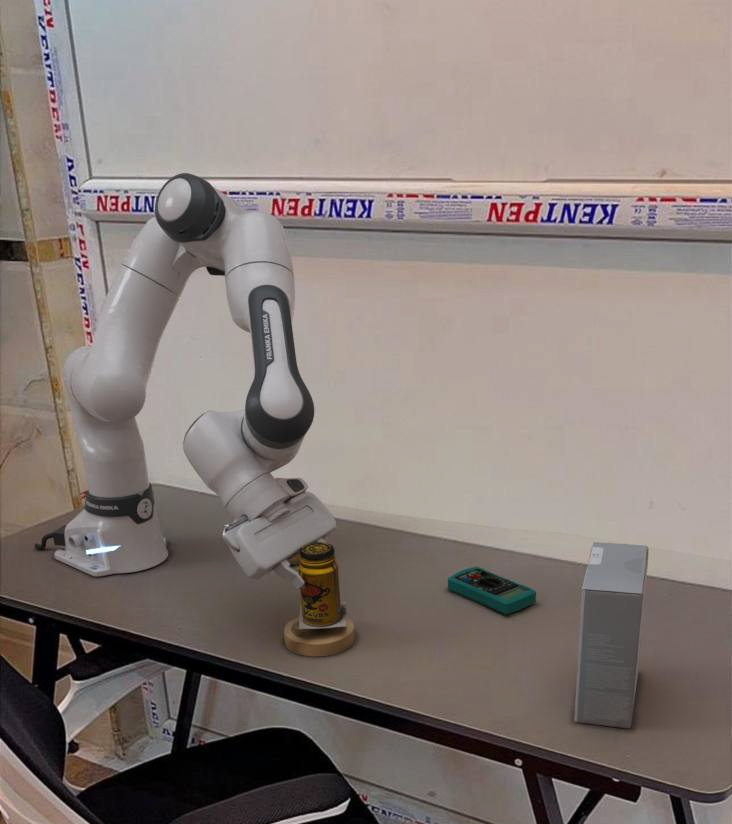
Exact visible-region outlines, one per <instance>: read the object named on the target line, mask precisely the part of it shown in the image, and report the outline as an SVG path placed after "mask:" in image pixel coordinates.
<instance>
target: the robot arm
mask: <svg viewBox="0 0 732 824" xmlns="http://www.w3.org/2000/svg"><path fill="white" fill-rule="evenodd" d="M293 265H294V264H293V259H292V255H291V249H290V245H289V242H288V238H287V235H286V232H285V228H284V226H283V224H282V223H281V222H280V220H279V219H278V218H277V217H276V216H274V215H272V214H271V213H268V212H265V211H261V210H260V211H259V210H253V211H247V210H246V209H245V208H244V207H243V206H242V205H241V204H239V203H238V201H236V200H235V199H233V198H232V197H230V196H228V195H226V193H224V192H222V191H221V190H219V189H218V188H216V187H214V186H213V185H212V184H211V183H210V182H209V181H208V180H206V179H204V178H202V177H200V176H198V175H195V174H192V173H189V172H182V173H178V174H175V175H174V176H172V177H171V178H169V179H167V181H166V182H165V183H164V184H163V185H162V187H161V188H160V189H159V192H158V194H157V196H156V199H155V203H154V216H153V217H151V218H150V219H148V220H147V221H146V223H145V224H144V225H143V227H142V228H141V229H140V230H139V232H138V234H137V235H136V237H135V238H134V239H133V241H132V243H131V244H130V246H129V248H128V249H127V251H126V253H125V255H124V258H123V259H122V261H121V262H120V265H119V268H118V270H117V272H116V274H115V276H114V278H113V281H112V282H111V285H110V286H109V289H108V291H107V293H106V295H105V298H104V300H103V301H102V304H101V307H100V313H99V320H98V322H97V323H98V324H97V327H96V330H95V334H94V337H93V341H92V344H89V345H84V346H80V347H78V348H75V349H73V351H71V352H70V353H69V354H68V355H67V357H66V358H65V360H64V362H63V366H62V379H63V383H64V388H65V392H66V397H67V401H68V407H69V409H70V410H69V411H70V414H71V418H72V421H73V425H74V430H75V432H76V436H77V439H78V443H79V447H80V451H81V452H80V453H81V455H82V456H81V457H82V461H83V467H84V472H85V479H86V485H87V490H84V491H82V492H80V493H78V496H80V495H81V496H80V497H79V498H78V499H79V500H83V499H84V500H85V501H84V507H83V509H82V511H80V512H79V513H78V514H77V515H76V516H75V517H74V518H73V519H71V521H69V522H68V523H67V524H64V525H62V526H60V527H58V528H57V529H56V530H53V532H50V533H47V534H45V535H43V537H42V538H41V542H40V543H41V544H40V543H35V544H34V549H36V550H44V549H45V548H46V547H47V541H48V540H49V539H53V545H54V546H59V548H58V549H57V550H56V551H55V552H54V553H53V554H54V557H53V558H54V559H55V560H56V561H59V562H61V563H63V564H66V565H68V566H69V567H72V568H74V569H77V570H79V571H80V572H83V573H85V574H88V575H90V576H92V577H96V578H97V577H104V576H109V575H116V574H128V573H136V572H141V571H144V570H145V571H146V570H148V569H151V568H154V567H156V566H158V565H160V564H161V563H163V562H165V560H167V558H168V557H169V550H168V549H167V544H168V543H167V539H166V537H164V536H163V533H162V529H161V524H160V521H159V516H158V513H157V509H156V507H155V501H156V500H155V496H154V495H155V492H154V489H153V484H152V483H151V482H150V477H149V472H148V465H147V458H146V451H145V445H144V440H143V438H142V435H141V432H140V430H139V427H138V422H137V419H136V416H137V415H139V414H140V412H141V411H142V409H144V405H145V402H146V397H147V386H148V383H149V379H150V376H151V374H152V370H153V367H154V363H155V359H156V355H157V353H158V349H159V346H160V342H161V339H162V337H163V335H164V332H165V330H166V328H167V326H168V324H169V322H170V320H171V317H172V316H173V314H174V311H175V309H176V308H177V305H178V303H179V301H180V298H181V297H182V294H183V292H184V290H185V288H186V285H187V283H188V281H189V279H190V277H191V276H192V275H193V274H194V272H195V271H197V270H199V269H200V268H206V271H207V273H208V274H209V275H210V276H223V277H224V281H225V295H226V301H227V305H228V309H229V312H230V317H231V319H232V321H233V323H234V324H235V325H236V326H237V327H238V328H240V329H241V330H243V331H244V332H246V333H248V334H250V339H251V349H252V359H253V360H252V361H253V369H254V370H253V371H254V376H253V380H252V382H251V384H250V387H249V390H248V392H247V394H246V399H245V405H244V406H245V407H244V409H242V410H236V411H217V410H213V409H210V410H207V411H206V412H203V413H201V415H199V416H198V417H197V418H196V419H195V420H194V421H193V423H192V424H191V425H190V426H189V427H188V429H187V431H186V432H185V434H184V438H183V441H182V450H183V454H184V455H185V457H186V459H187V461H188V462H189V464H190V465H191V467H192V468H193V469H194V471H195V473H196V474H197V475H198V476H199V478H200V479H201V481H202V482H203V483H204V484H205V486H206V487H207V488H208V489H209V490H211V491H212V492H214V493H215V494H216V495H217V496H218V497H219V499H220V501H221V503H222V506H223V507H224V509H225V510H226V511H227V512H228V514H229V515H230V517H231V518H232V519H233V520H232V521H229V522H227V523H226V524H224V525H223V530H222V539H223V541H224V542H225V543H226V544H227V546H228V548H229V550H230V552H231V554H232V555H233V557H234V559H235V560H236V563H238V565H239V566H240V568H241V569H242V571H243V572H244V574H245V575H246V577H248V578H249V579H252V580H255V581H257V580H259V579H260V578H262V577H264V576H266V575H268V574H269V573H271V572H272V571H274V572H275V574H276V575H277V576H278V577H280V578H282V579H284V580H286V581H287V582H290V583H291V584H292V586H293V587H294V588H295V589H296V590H300V588H301V587H303V586H304V585H305V584H306V583H307V582H308V580H307V578H306V577H305V575H304V574H303V572H301V573H299V572H298V571H296V570H295V569H293V568H291V567H290V566H291V564H290V563H289V562H288V561H289V560H290V559H292V558H294V557H295V556H297V555H299V554H300V549H301V548H302V547H303V546H304V545H307V544H310V543H315V542H322V543H326V542H325V541H324V540H323V539H327V538H328V537H329V536H330V535H331V534H332V533H333V532H334V531H335V530H336V529H337V522H336V519H335V517H334V516H333V514H332V513H331V512H330V510H329V509H328V508H327V506H326V505H325V504H324V503H323V502H322V501H321V499H319V497H318V496H317V495H316V494H315V493H313V492H310V491H307V490H308V488H309V485H308V484H307V481H305V479H303V477H302V478H301V477H290V478H287V477H286V478H285V477H284V478H283V477H275V476H274V475H273V474H272V472H275V471H277V470H278V469H281V468H282V467H284V466H286V465H288V464H290V462H292V461H293V460H294V459H295V458H296V456H297V455H298V453H299V452H300V449H301V446H302V444H303V442H304V439H305V436H306V434H307V433H308V431H310V428H311V426H312V425H313V422H314V419H315V403H314V400H313V397H312V395H311V393H310V391H309V389H308V387H307V385H306V384H305V381H304V380H303V378H302V376H301V374H300V370H299V367H298V362H297V354H296V345H295V339H294V331H293V320H294V314H295V306H296V305H295V304H296V282H295V274H294V273H295V272H294V266H293Z"/></svg>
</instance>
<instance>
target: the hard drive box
mask: <svg viewBox="0 0 732 824" xmlns="http://www.w3.org/2000/svg"><path fill="white" fill-rule="evenodd" d="M649 552H650V551H649V547H648V546H647V545H645V544H644V545H642V544H641V545H640V544H627V543H614V542H600V541H598V542H597V541H596V542H595V541H593V542H592V546H591V549H590V552H589V558H588V563H587V568H586V571H585V575H584V578H583V583H582V587H581V599H580V600H581V603H580V621H579V637H578V638H579V639H578V653H577V668H576V669H577V670H576V684H575V685H576V686H575V687H576V688H575V701H574V702H575V703H574V719H573V720H574V722H575V723H579V724H589V725H597V726H605V727H613V728H621V729H631V728H632V722H633V714H634V713H633V712H634V705H635V698H636V691H637V685H638V684H637V683H638V676H639V670H640V660H641V658H640V657H641V648H642V647H641V645H642V635H643V626H644V613H645V603H646V601H645V600H646V588H647V577H648V565H649Z"/></svg>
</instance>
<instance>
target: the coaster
mask: <svg viewBox="0 0 732 824" xmlns="http://www.w3.org/2000/svg"><path fill="white" fill-rule="evenodd" d="M299 620H300V615H298V616H296V617H294V618H292V619H291V620H289V621H288V622H287V623H286V624H285V625H284V628H283V637H284V638H283V639H284V645H285V647H286V648H287V649H288V650H289V651H290V652H291V653H294V654H297V655H300V656H304V657H314V658H317V657H329V656H333V655H337V654H339V653H342V652H344V651H347V650H348V649H350V648H351V646H353V644H354V642H355V640H356V635H355V624H354V621H352V620H351V618H349V617H348V616H346V626H342V627H333V628H316V629H299Z"/></svg>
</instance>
